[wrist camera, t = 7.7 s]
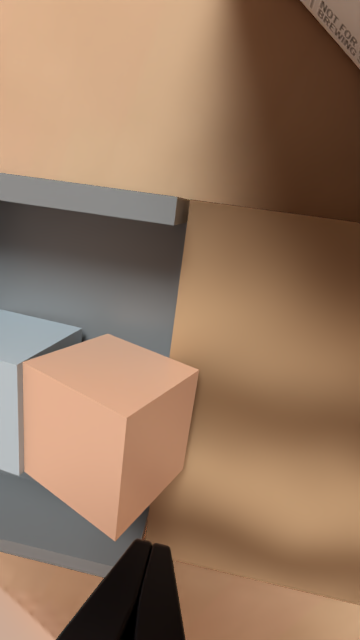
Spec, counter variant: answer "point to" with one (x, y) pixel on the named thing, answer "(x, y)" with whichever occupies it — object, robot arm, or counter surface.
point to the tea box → (339, 23)
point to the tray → (84, 322)
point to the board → (269, 401)
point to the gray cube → (7, 374)
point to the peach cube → (106, 427)
